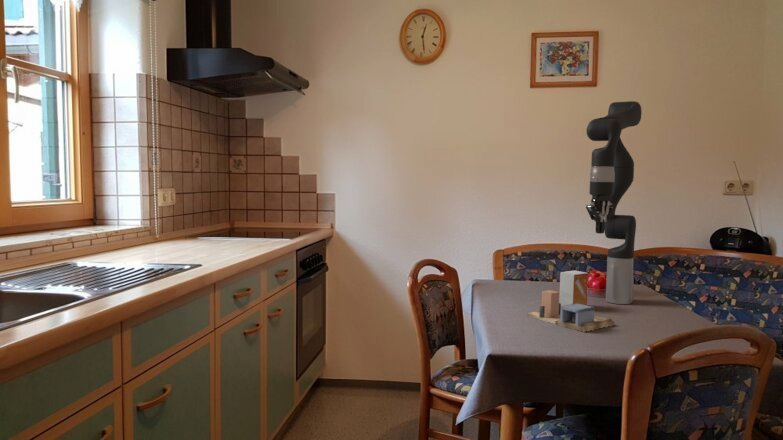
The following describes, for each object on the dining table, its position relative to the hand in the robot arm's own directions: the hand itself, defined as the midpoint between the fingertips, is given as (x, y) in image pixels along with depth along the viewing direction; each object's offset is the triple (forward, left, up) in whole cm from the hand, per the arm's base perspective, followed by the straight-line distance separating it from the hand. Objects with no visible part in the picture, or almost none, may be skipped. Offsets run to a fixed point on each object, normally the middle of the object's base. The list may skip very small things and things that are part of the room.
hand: (599, 233), depth 184 cm
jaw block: (+13, -9, -28) cm, 32 cm away
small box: (-7, -15, -29) cm, 34 cm away
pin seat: (+13, -9, -29) cm, 33 cm away
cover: (+14, +3, -27) cm, 31 cm away
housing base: (+10, +3, -29) cm, 31 cm away
